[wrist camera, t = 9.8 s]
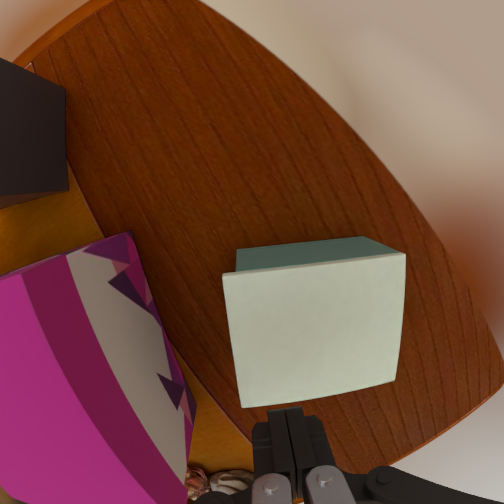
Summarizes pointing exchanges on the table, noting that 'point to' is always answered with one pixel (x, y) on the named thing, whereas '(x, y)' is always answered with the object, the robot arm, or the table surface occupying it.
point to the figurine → (195, 483)
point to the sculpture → (231, 481)
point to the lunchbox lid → (315, 327)
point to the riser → (30, 136)
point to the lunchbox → (308, 253)
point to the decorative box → (90, 383)
